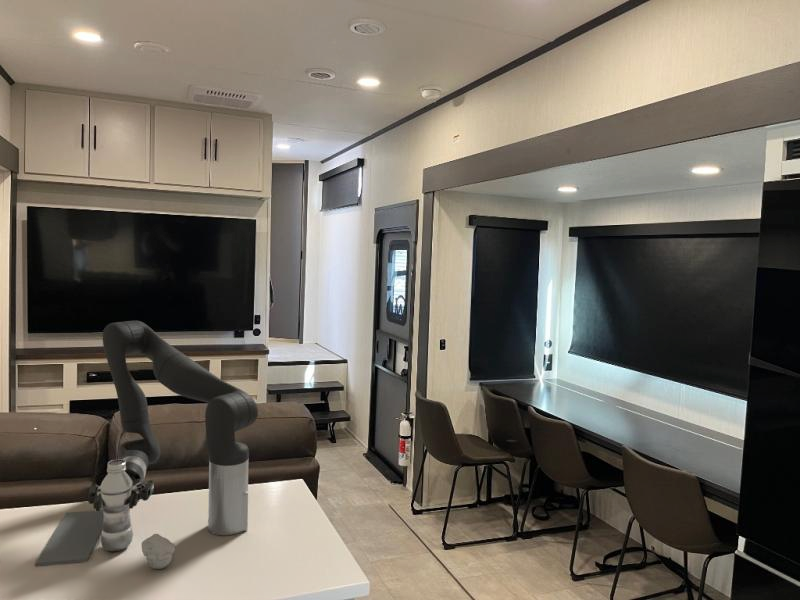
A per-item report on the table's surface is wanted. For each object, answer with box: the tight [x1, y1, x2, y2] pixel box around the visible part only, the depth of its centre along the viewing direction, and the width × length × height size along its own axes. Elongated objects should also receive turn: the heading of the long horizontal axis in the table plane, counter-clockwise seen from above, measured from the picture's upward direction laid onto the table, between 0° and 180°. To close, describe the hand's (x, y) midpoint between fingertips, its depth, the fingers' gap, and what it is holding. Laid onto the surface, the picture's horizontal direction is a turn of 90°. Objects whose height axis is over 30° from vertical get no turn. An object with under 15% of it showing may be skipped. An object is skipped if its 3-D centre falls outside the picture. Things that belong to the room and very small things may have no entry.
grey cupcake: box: [141, 533, 176, 570], centre depth 129 cm, size 6×7×7 cm
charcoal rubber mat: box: [34, 509, 104, 567], centre depth 140 cm, size 10×24×1 cm, turn 15°
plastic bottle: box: [100, 458, 134, 552], centre depth 135 cm, size 6×7×20 cm
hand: (114, 505), depth 133 cm, fingers closed on plastic bottle, 6 cm apart
